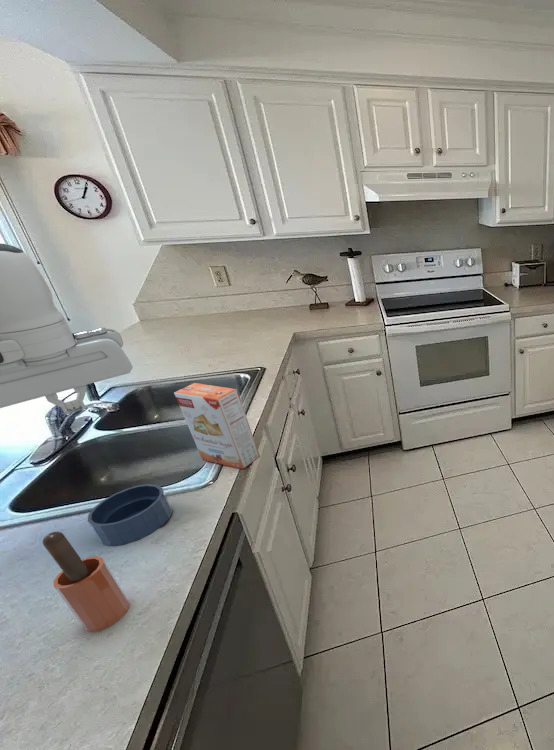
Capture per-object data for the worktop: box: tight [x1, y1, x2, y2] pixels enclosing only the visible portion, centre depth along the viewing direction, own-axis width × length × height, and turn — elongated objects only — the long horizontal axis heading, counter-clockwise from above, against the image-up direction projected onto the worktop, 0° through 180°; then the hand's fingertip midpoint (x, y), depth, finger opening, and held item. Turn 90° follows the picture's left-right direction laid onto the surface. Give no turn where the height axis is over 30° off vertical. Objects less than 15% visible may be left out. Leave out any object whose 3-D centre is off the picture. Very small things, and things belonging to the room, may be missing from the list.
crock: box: [53, 555, 131, 633], centre depth 67 cm, size 6×6×11 cm
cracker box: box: [173, 382, 261, 470], centre depth 104 cm, size 14×6×21 cm, turn 73°
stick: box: [42, 531, 91, 584], centre depth 64 cm, size 2×2×20 cm
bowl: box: [87, 483, 173, 547], centre depth 87 cm, size 12×12×6 cm
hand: (75, 410), depth 76 cm, fingers closed
